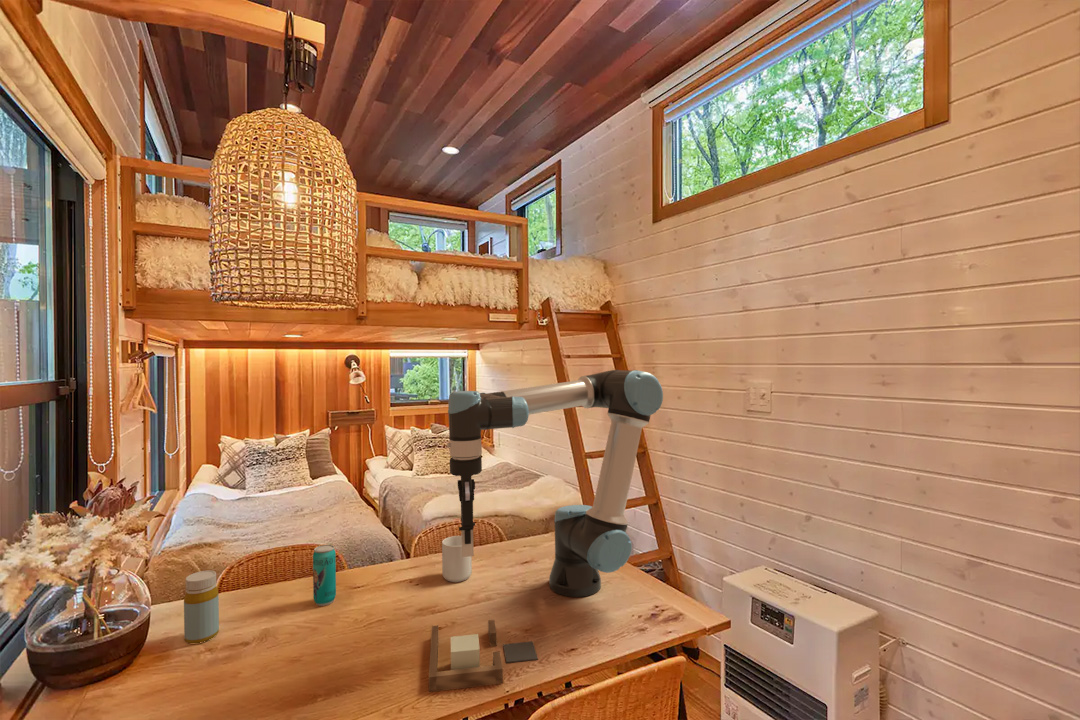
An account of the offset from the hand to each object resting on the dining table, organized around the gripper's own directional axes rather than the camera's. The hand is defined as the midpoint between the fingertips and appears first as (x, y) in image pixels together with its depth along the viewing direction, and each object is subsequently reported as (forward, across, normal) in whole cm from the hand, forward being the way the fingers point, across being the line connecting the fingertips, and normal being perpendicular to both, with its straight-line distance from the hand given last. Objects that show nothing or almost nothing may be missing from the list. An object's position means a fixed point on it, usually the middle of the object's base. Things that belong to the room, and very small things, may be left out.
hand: (467, 555), depth 123 cm
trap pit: (+21, +7, +11) cm, 24 cm away
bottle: (+20, -14, -64) cm, 68 cm away
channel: (+20, +8, -2) cm, 22 cm away
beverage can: (+20, -27, -38) cm, 51 cm away
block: (+20, +11, -2) cm, 23 cm away
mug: (+21, -38, -2) cm, 43 cm away
